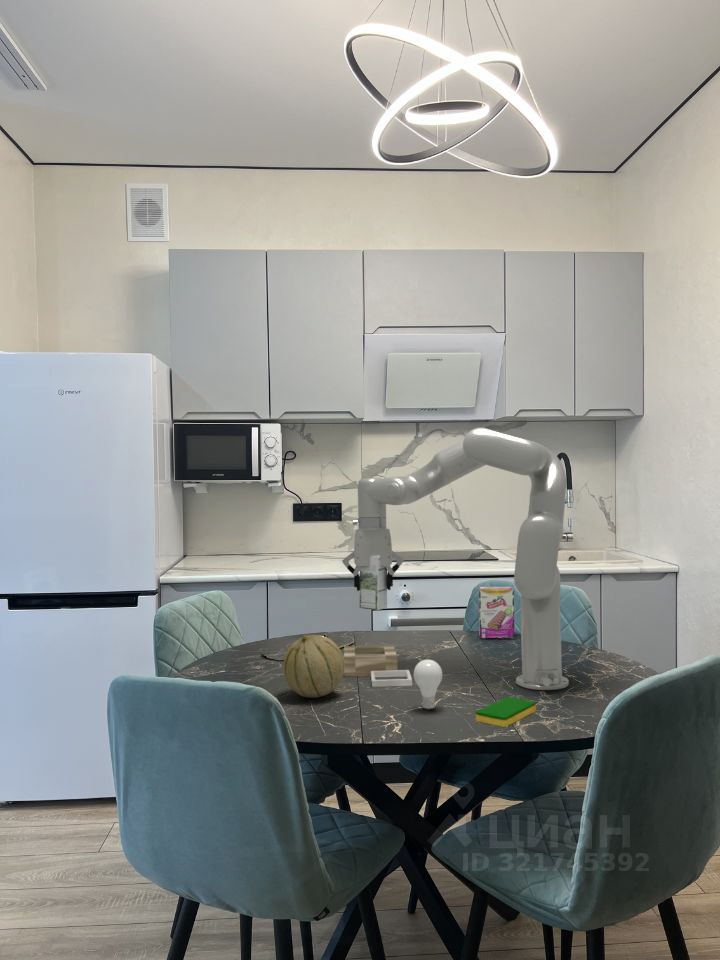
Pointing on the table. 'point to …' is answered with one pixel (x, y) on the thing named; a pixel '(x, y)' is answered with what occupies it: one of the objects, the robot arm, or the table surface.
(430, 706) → the lightbulb
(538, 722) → the table surface
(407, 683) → the stand frame
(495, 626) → the candy bar box
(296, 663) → the cantaloupe
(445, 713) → the table surface
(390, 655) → the block
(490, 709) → the dish sponge
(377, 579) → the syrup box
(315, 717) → the table surface
